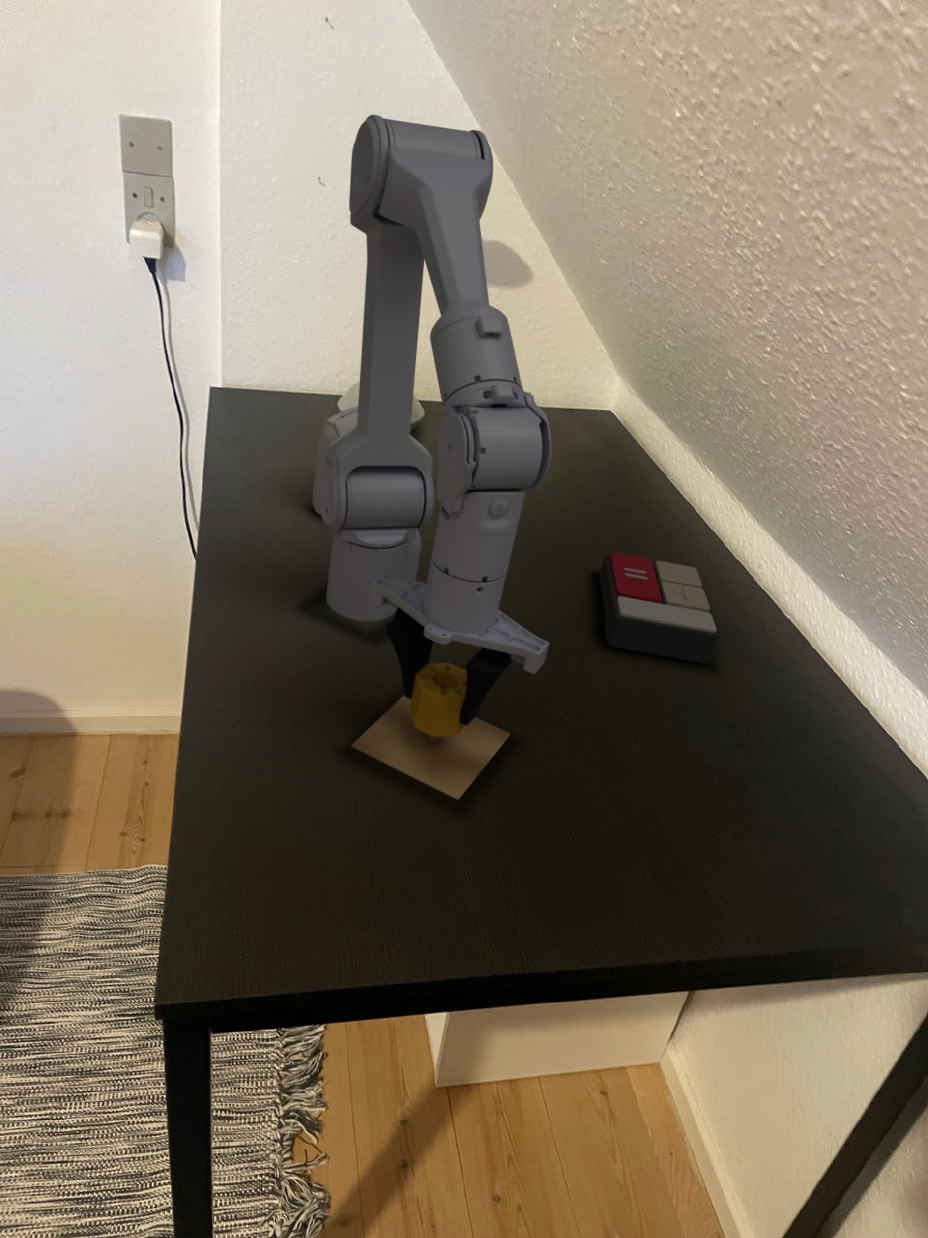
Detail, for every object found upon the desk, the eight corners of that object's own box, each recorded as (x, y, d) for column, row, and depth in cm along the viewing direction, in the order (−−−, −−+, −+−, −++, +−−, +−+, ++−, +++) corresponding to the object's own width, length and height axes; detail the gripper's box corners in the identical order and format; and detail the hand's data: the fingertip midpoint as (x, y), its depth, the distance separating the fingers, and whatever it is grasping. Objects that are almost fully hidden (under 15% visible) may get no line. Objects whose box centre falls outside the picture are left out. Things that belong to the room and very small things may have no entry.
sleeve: (427, 693, 80) (434, 655, 78) (474, 716, 79) (483, 678, 77) (399, 721, 77) (407, 682, 75) (449, 744, 75) (457, 706, 73)
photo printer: (369, 488, 118) (381, 394, 111) (393, 502, 116) (407, 407, 109) (305, 507, 111) (314, 408, 104) (330, 523, 109) (340, 422, 102)
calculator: (700, 564, 108) (724, 630, 95) (689, 596, 110) (711, 665, 97) (606, 546, 108) (617, 610, 95) (597, 579, 110) (606, 646, 97)
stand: (410, 694, 85) (418, 649, 82) (509, 740, 82) (521, 695, 79) (349, 753, 77) (356, 705, 74) (456, 806, 74) (467, 759, 71)
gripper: (357, 546, 69) (338, 692, 76) (536, 622, 64) (498, 769, 72) (406, 514, 74) (384, 653, 82) (573, 582, 70) (534, 722, 77)
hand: (440, 704), depth 77 cm, fingers closed on sleeve, 4 cm apart
